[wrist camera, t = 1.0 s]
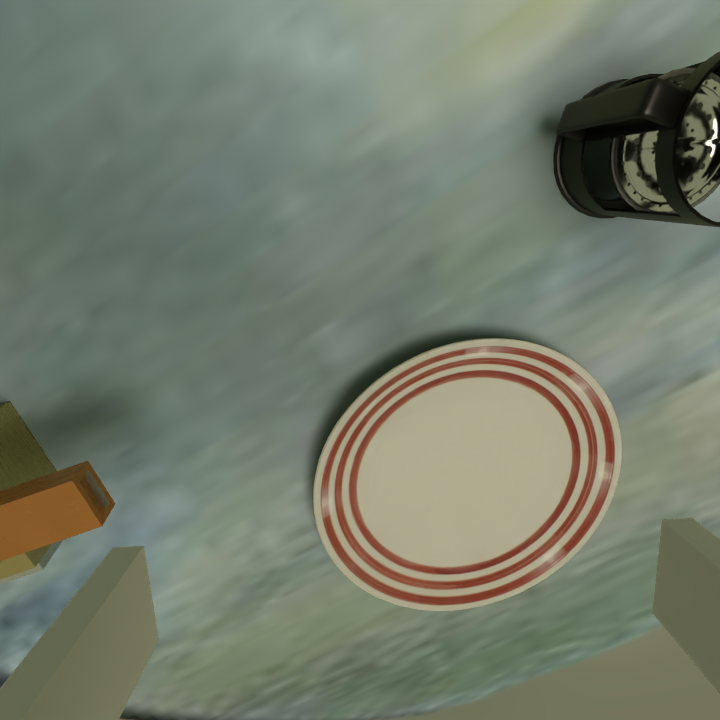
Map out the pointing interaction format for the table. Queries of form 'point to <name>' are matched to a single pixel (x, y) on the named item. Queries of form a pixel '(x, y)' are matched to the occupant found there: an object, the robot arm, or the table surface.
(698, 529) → the robot arm
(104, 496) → the valve lever
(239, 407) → the table surface
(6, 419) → the valve pipe
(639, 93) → the french press
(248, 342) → the table surface
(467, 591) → the dinner plate
